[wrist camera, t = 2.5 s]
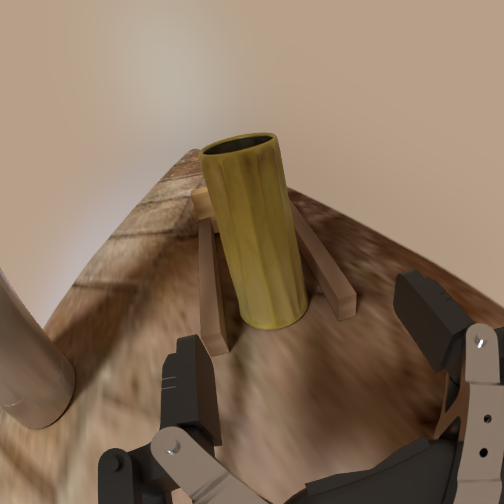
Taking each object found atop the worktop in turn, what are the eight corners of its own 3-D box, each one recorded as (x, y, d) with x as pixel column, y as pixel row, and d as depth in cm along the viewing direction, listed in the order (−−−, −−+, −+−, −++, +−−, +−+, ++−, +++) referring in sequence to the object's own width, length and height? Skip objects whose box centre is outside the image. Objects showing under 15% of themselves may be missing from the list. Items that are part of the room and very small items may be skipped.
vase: (254, 280, 29) (217, 137, 21) (315, 285, 27) (294, 127, 19) (229, 325, 25) (172, 163, 17) (298, 336, 22) (266, 152, 14)
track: (211, 356, 22) (184, 303, 19) (203, 229, 41) (191, 190, 37) (355, 315, 22) (357, 255, 19) (286, 207, 41) (279, 167, 38)
